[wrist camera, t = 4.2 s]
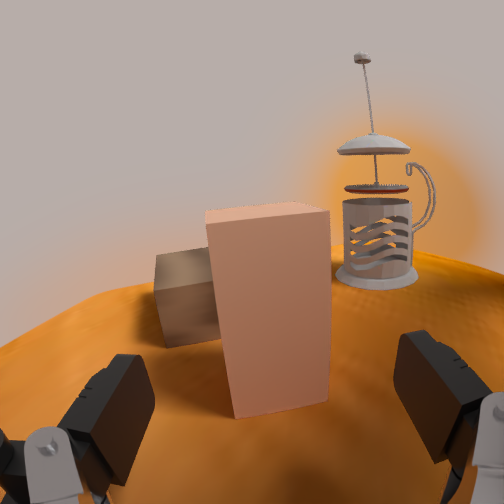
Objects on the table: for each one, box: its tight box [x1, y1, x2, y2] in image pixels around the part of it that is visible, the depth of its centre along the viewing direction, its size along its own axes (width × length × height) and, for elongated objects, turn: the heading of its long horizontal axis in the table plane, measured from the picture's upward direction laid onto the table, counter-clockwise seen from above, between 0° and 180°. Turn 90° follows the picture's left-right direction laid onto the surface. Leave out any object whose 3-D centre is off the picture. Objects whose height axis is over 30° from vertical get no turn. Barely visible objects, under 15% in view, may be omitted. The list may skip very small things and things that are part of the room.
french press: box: [335, 52, 436, 290], centre depth 29 cm, size 10×12×25 cm
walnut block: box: [154, 247, 221, 348], centre depth 28 cm, size 11×11×5 cm
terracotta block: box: [205, 201, 331, 419], centre depth 16 cm, size 5×5×10 cm
